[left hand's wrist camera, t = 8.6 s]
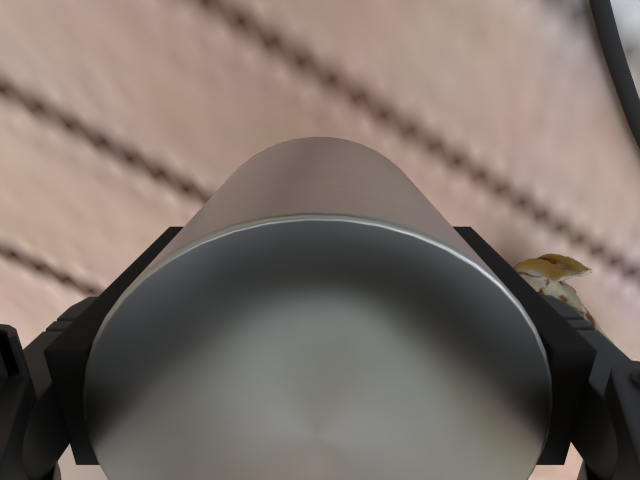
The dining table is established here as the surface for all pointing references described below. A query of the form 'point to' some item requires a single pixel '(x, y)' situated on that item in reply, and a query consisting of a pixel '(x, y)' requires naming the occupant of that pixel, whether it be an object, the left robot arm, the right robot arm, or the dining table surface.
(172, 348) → the tin
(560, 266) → the jawbone
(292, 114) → the dining table surface
